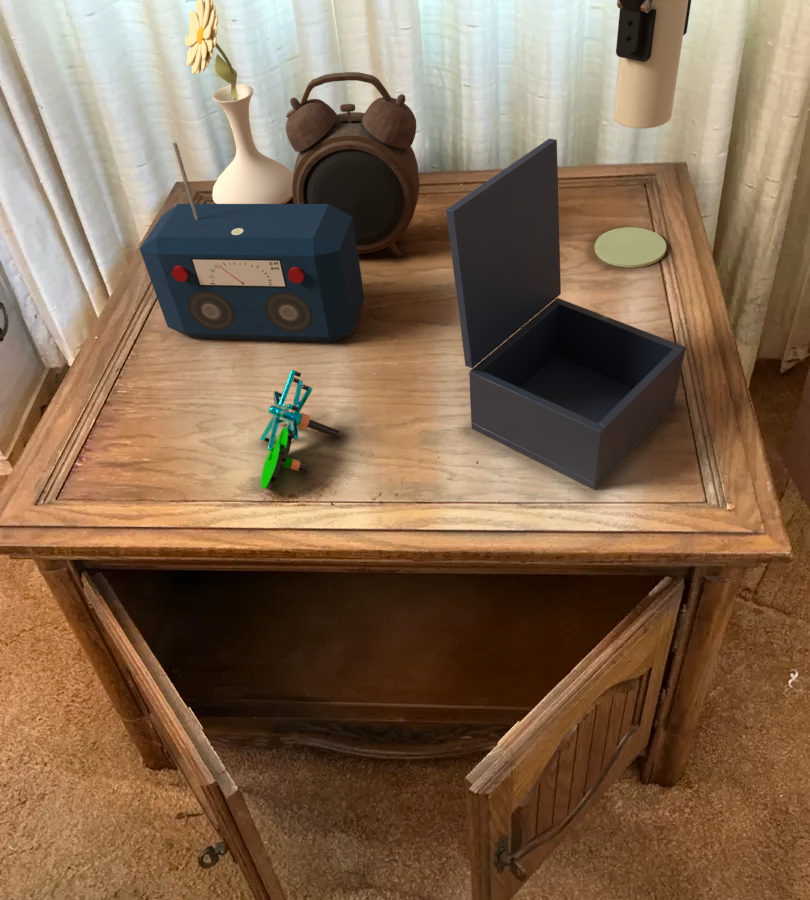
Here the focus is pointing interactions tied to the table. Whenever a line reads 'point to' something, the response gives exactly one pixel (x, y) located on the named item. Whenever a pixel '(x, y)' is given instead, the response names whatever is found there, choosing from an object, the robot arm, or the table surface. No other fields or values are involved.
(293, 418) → the stick construction toy
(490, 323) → the lid
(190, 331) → the radio
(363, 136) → the alarm clock
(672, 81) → the jar
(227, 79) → the flower in vase
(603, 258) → the mat
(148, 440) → the table surface
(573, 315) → the chest
